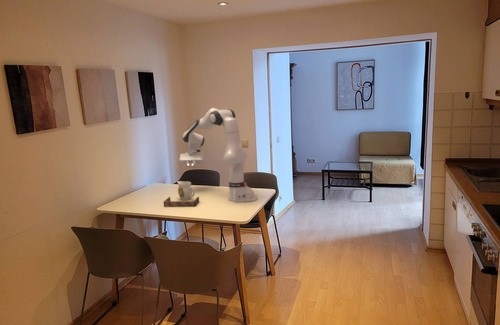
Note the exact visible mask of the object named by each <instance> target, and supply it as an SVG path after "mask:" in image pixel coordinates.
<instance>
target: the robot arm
mask: <svg viewBox="0 0 500 325" xmlns="http://www.w3.org/2000/svg"><path fill="white" fill-rule="evenodd" d="M221 125H222V127H223V129H224V136H225V151H224V155H223V157H222V158H223V159H222V160H223V163H224V164H225V165H226V166H231V167H230V169H229V171H228V172H229V173H228V175H229V176H228V177H229V181H228V188H229V192H228V194H229V195H228V201H231V202H234V203H239V202H240V203H241V202H242V203H243V202H245V201H247V202H255V201H257V200H258V196H257V195H255V193H254V192H255V191H254V190H253V189H252V188H251V187H249V186H248V185H247V181H245V180H244V179H245V178H244V176H245V175H244V170H245V163H246V160H247V158H248V152H247V151H246V150H245V149H243V148H240V144H241V134H240V130H239V125H238V121H237V119H236V113H235V112H234V110H232V109H218V108H216V107H211V108H210V109H209V110H208V111H207V112H206V113H205V115H204V116H203V117H202V118H199V119H197V120H195V122H193V124H191V126H190V127H188V129H186V130H185V131H184V132H183V134H182V140H183V141H184V143H188V148H187V152H182V153H180V155H179V156H180V157H179V160H178V161H179V163H180V164H181V163H182V164H183V163H185V164H187V167H190V166H191V167H195V165H196V164H198V163H204V160H205V158H204V153H203V150H201V149H199V148H201V147H203V146H204V144H205V137H204V135H202V134H199V133H196V130H199V129H200V130H211V129H213V128H215V127H216V126H218V127H219V126H221ZM245 203H246V202H245Z"/></svg>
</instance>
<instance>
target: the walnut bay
mask: <svg viewBox="0 0 500 325" xmlns="http://www.w3.org/2000/svg"><path fill="white" fill-rule="evenodd" d="M199 203H200V197H199V196H197V197H196V198H195V199H194V200H191V201H190V200H177V201H175V200H173V201H172V200H171V196H168V197H167V198H166V199H164V200H163V208H183V207H184V208H187V207H188V208H189V207H190V208H193V207H194V208H195V207H196V206H197V205H198V204H199Z"/></svg>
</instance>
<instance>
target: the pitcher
mask: <svg viewBox="0 0 500 325" xmlns="http://www.w3.org/2000/svg"><path fill="white" fill-rule="evenodd" d="M176 183H177V185H178V188H177V191H178V192H177V193H178V196H179V198H180V200H181V201H190V200H191V198H193V197H194V196H195V194H196V190H195V188H194V186H192V182H191V181H188V180H187V181H183V180H182V181H181V180H179V181H176Z"/></svg>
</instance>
